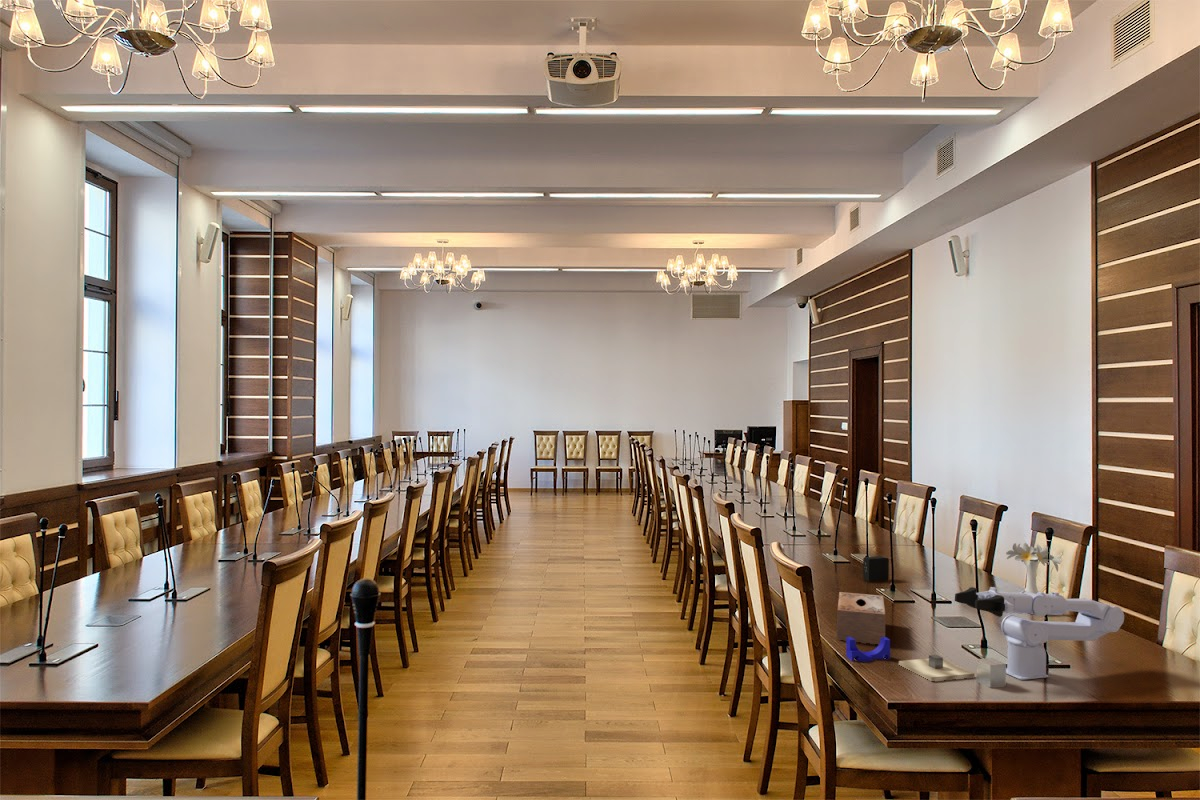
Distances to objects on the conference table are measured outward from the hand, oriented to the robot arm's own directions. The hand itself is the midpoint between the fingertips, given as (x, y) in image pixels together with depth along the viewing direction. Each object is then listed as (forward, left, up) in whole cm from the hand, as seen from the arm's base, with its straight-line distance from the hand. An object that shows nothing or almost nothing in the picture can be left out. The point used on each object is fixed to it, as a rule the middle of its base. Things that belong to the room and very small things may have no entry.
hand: (965, 600), depth 214 cm
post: (+3, -8, -21) cm, 22 cm away
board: (+3, -8, -22) cm, 23 cm away
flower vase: (-77, -55, -22) cm, 97 cm away
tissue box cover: (+1, -47, -22) cm, 52 cm away
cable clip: (+15, -22, -22) cm, 35 cm away
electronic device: (-51, -113, -22) cm, 126 cm away
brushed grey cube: (-5, +4, -22) cm, 23 cm away
